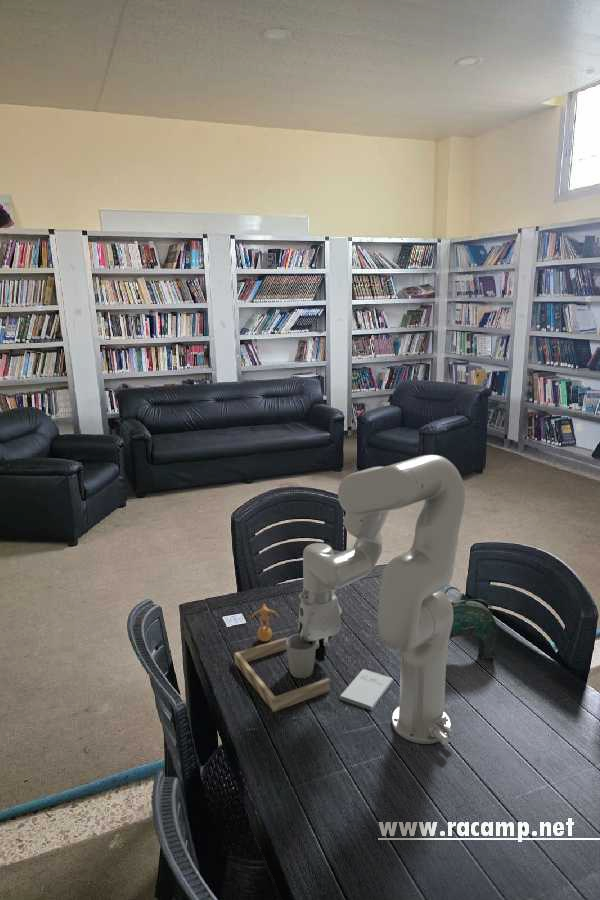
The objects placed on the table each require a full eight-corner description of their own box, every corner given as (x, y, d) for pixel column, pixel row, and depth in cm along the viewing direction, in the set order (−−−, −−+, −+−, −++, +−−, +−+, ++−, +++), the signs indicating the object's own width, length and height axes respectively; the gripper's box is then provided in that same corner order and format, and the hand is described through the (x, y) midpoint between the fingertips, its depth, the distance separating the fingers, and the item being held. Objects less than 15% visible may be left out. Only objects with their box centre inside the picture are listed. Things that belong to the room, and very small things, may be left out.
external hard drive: (339, 701, 145) (362, 673, 155) (372, 712, 141) (393, 683, 151) (339, 695, 144) (362, 668, 155) (372, 706, 140) (393, 677, 151)
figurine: (279, 635, 172) (278, 595, 169) (281, 647, 166) (280, 606, 163) (249, 637, 171) (247, 598, 168) (250, 649, 165) (248, 608, 162)
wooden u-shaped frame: (329, 691, 147) (329, 680, 147) (273, 711, 140) (273, 700, 140) (286, 647, 166) (286, 637, 165) (234, 663, 159) (234, 652, 158)
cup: (286, 682, 151) (286, 650, 149) (285, 658, 161) (284, 629, 159) (318, 680, 152) (317, 649, 149) (314, 657, 161) (314, 627, 159)
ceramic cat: (420, 665, 157) (423, 592, 153) (415, 650, 164) (417, 581, 159) (498, 662, 158) (503, 590, 153) (489, 648, 164) (494, 579, 159)
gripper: (299, 606, 147) (300, 674, 152) (352, 592, 154) (351, 657, 158) (284, 593, 154) (286, 659, 158) (336, 580, 160) (336, 643, 165)
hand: (318, 658), depth 158 cm, fingers closed
